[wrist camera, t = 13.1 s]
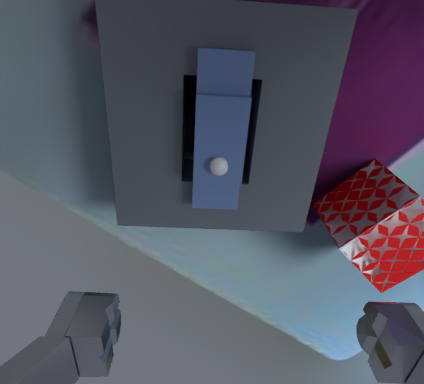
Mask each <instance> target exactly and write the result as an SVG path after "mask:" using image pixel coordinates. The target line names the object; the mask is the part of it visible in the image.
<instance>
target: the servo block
mask: <svg viewBox="0 0 424 384" xmlns="http://www.w3.org/2000/svg"><path fill="white" fill-rule="evenodd" d="M255 54H256V52H255V51H252V50H237V49H222V48H208V47H198V65H197V92H196V115H195V141H194V168H193V198H192V208H203V209H227V210H237V205H238V196H239V188H240V184H242V176H243V167H244V159H245V151H246V143H247V134H248V126H249V118H250V110H251V102H252V97H251V87H252V79H253V70H254V62H255Z"/></svg>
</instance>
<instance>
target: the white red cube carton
mask: <svg viewBox="0 0 424 384" xmlns="http://www.w3.org/2000/svg"><path fill="white" fill-rule="evenodd" d="M313 206H314V207H315V209H316V211H317V212H318V214H319V216H320V218H321V219H322V221H323V223H324V224H325V226H326V228H327V230H328V231H329V233H330V235H331V236H332V238H333V240H334V242H335V243H336V245H337V247H338V248H339V250H340V251H341V252H342V253H343V254H344V255H345V256H346V257H347V258H348V259H349V260H350V261H351V262H352V263H353V264H354V265H355V266H356V267H357V268H358V269H359V270H360V271H361V272H362V273H363V275H364V276H365V277H366V278H367V279H368V280H369V281H370V282H371V283H372V284H373V285H374V286H375V287H376V288H377V289H378V290H379V291H380V292H381V293H383V292H384V291H386V290H388V289H390V288H392V287H393V286H395V285H397V284H399V283H400V282H402V281H404V280H406V279H408V278H409V277H411V276H413V275H415V274H416V273H418V272H420V271H422V270H423V269H424V200H423V199H422V198H421V196H420V195H418V194H417V193H416V192H415V191H414V190H412V189H411V188H410V187H409V186H408V185H406V184H405V183H404V182H403V181H402V180H400V179H399V178H398V177H397V176H395V175H394V174H393V173H392V172H391V171H389V170H388V169H387V168H386V167H385V166H383V165H382V164H381V163H380V162H379V161H377V160H376V159H375V160H373V161H371V162H370V163H368V164H367V165H366V166H364V167H363V168H361V169H360V170H359V171H358V172H356V173H355V174H353V175H352V176H351V177H349V178H348V179H346V180H345V181H344V182H342V183H341V184H339V185H338V186H337V187H335V188H334V189H333V190H331V191H330V192H328V193H327V194H326V195H324V196H323V197H321V198H320V199H319V200H317V201H316V202H315V203H313Z"/></svg>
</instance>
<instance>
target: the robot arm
mask: <svg viewBox="0 0 424 384" xmlns="http://www.w3.org/2000/svg"><path fill="white" fill-rule="evenodd" d="M119 302H120V301H119V295H118V294H112V293H111V294H110V293H96V292H73V291H70V292H69V293H68V294H67V295H66V296H65V298H64V300H63V302H62V304H61V306H60V308H59V310H58V312H57V313H56V315H55V317H54V319H53V321H52V323H51V325H50V327H49V329H48V331H47V333H46V335H45V337H38V338H37V339H36V340H35V341H33V342H32V343H31V344H29V345H28V346H27V347H25V348H24V349H23V350H21V351H20V352H19V353H17V354H16V355H15V356H14V357H12V358H11V359H10V360H8V361H7V362H6V363H4V364H3V365H2V366H0V384H74V383H75V382H76V381H77V380H78V379H79V377H90V376H91V377H99V376H108V374H109V370H110V367H111V363H112V359H113V356H114V354H113V346H114V344H116V343H117V341H118V338H119V334H120V327H121V312H120V310H119V309H118V305H119ZM363 310H364V312H365V315H364V316H362V317H361V318H360V319H359V320H358V323H357V338H358V341H359V344H360V346H361V348H362V349H363V350H364V351H365V352H366V353H368V354H369V359H368V363H369V365H370V367H371V369H372V371H373V374H374V376H375V377H376V380H377V382H381V383H401V384H424V312H423V311H422V310H421V308H420V307H419V306H418V305H417V304H415V303H397V302H368V303H366V304H365V306H364V309H363Z"/></svg>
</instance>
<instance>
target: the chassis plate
mask: <svg viewBox="0 0 424 384" xmlns="http://www.w3.org/2000/svg"><path fill="white" fill-rule="evenodd" d="M95 6H96V16H97V26H98V35H99V45H100V55H101V65H102V75H103V85H104V95H105V105H106V114H107V124H108V134H109V144H110V154H111V164H112V174H113V184H114V193H115V203H116V213H117V223H118V225H124V226H150V227H177V228H203V229H230V230H256V231H283V232H303V231H304V227H305V223H306V219H307V215H308V211H309V207H310V203H311V199H312V195H313V191H314V187H315V183H316V179H317V175H318V171H319V167H320V163H321V159H322V155H323V151H324V147H325V143H326V139H327V135H328V131H329V127H330V123H331V119H332V115H333V111H334V107H335V103H336V99H337V95H338V91H339V87H340V83H341V79H342V75H343V71H344V67H345V63H346V59H347V55H348V51H349V47H350V43H351V39H352V35H353V31H354V27H355V23H356V19H357V15H358V11H359V9H350V8H336V7H323V6H309V5H296V4H282V3H269V2H255V1H242V0H95ZM198 47H208V48H222V49H237V50H252V51H255V52H256V54H255V62H254V70H253V79H252V88H251V97H252V102H251V110H250V118H249V126H248V134H247V143H246V151H245V159H244V167H243V176H242V184H240V188H239V196H238V205H237V210H227V209H203V208H192V198H193V168H194V160H189V159H185V116H186V75H196V76H197V65H198Z"/></svg>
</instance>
